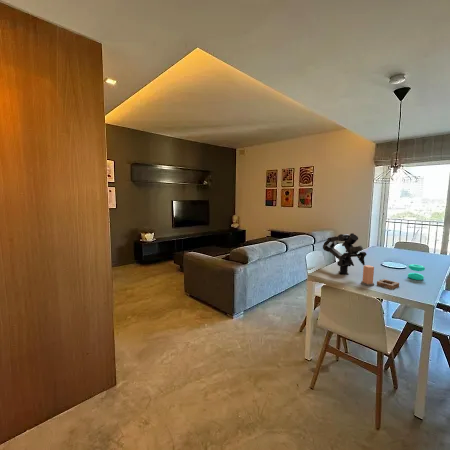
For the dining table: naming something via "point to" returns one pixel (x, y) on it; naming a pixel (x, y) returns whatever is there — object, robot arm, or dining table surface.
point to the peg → (368, 274)
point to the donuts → (416, 275)
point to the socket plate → (388, 283)
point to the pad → (367, 284)
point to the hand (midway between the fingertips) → (358, 265)
